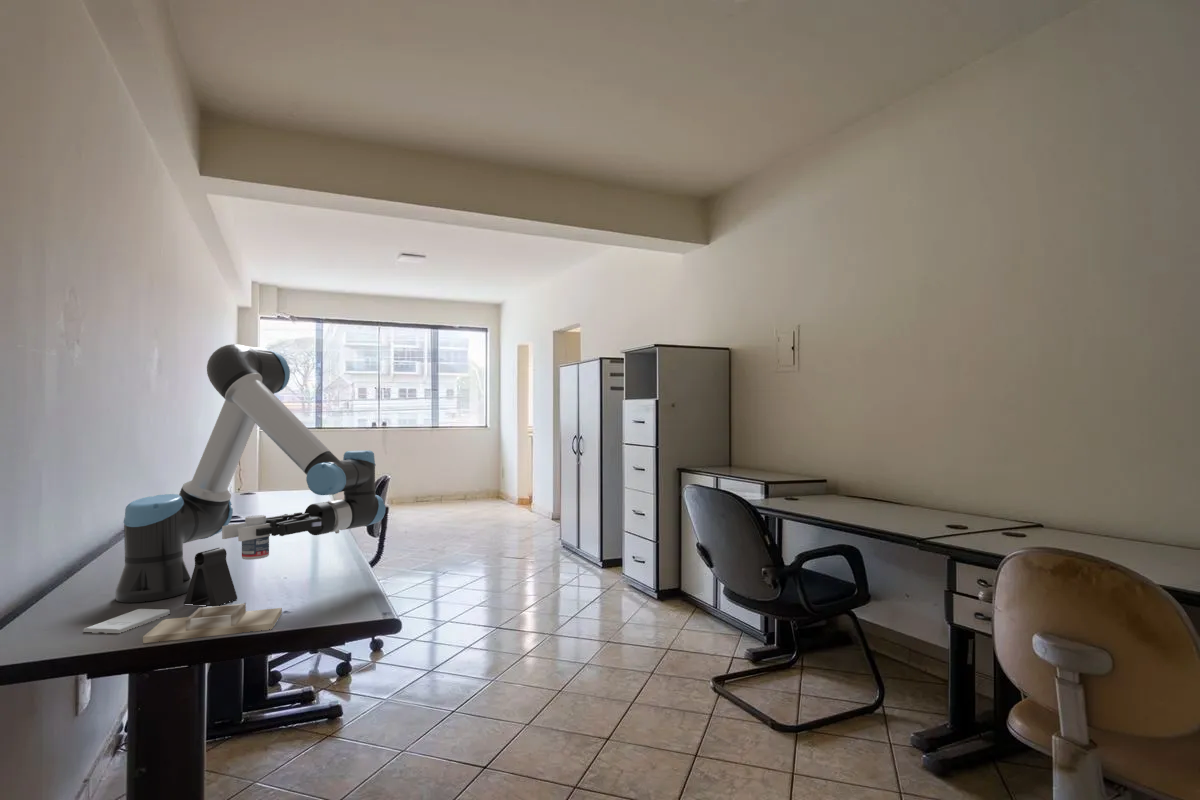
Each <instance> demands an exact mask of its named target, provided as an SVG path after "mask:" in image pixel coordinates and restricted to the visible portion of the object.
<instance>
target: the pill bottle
mask: <svg viewBox="0 0 1200 800" xmlns="http://www.w3.org/2000/svg"><path fill="white" fill-rule="evenodd" d="M266 518H267V516H266V515H264V514H263V515H262V514H261V515H260V514H259V515H249V516H246V517H245V520H244V523H245V524H247V525H246V527H249V526H255V525H261V524H265V522H266ZM269 556H270V536H268V537H262V538H257V539H251V540H246V541H241V559H243V560H248V561H249V560H251V561H252V560H253V561H254V560H259V559H265V558H267V557H269Z"/></svg>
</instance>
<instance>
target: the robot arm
mask: <svg viewBox="0 0 1200 800" xmlns="http://www.w3.org/2000/svg"><path fill="white" fill-rule="evenodd" d="M206 375H207V377H208V380H209V382H210V383H211V385H212V386H213V387H214V389H215V391H217V392H218V394H219V395H220V396H221V397H222V398H223V399H224V403H223V405H222V407H221V409H220V412H219V413H218V414H219V415H218V416H217V419H216V422H215V424H214V426H213V429H212V432H211V433H210V435H209V438H208V439H207V440H208V441H207V444H206V446H205V447H204V448H205V449H204V450H203V453H202V455H201V457H200V459H199V463H198V465H197V468H196V469H195V472H194V474H193V477H192V480H189V481H187V482H184V483H182V484H183V485H182V486H181V488H180V491H179V494H175V493H172V494H171V493H170V494H169V493H166V494H165V493H164V494H158V495H153V496H147V497H142V498H138V499H135V500H133V501H131V502H129V503H128V504H127V506H125V509H124V518H123V527H124V529H123V530H124V535H123V536H124V567H123V570H122V572H121V574H120V578H119V580H118V583H117V585H116V588H115V600H116V602H120V603H128V604H129V603H130V604H131V603H144V602H145V601H146V602H152V601H160V600H165V599H170V598H174V597H178V596H180V595H183V594H187V591H188V588H189V584H190V581H191V578H192V577H191V576H190V574H189V571H188V568H187V566H186V563H185V561H184V544H186V543H190V542H191V543H192V542H194V541H197V540H205V539H208V538H210V537H213V536H215V535H218V534H219V533H221V539H222V540H227V539H232V538H238V539H237V540H238V542H242V541H246V540H251V539H257V538H262V537H268V536H269V537H271V536H272V537H277V536H278V535H279V537H284V536H288V535H294V534H299V533H304V532H305V533H306V532H308V533H309V534H310V535H313V536H319V535H324V534H329V533H335V534H340V531H345V530H351V529H355V528H362V527H368V526H370V525H373V524H378V523H379V522H382V520H383V518H384V516H386V515H385V514H386V509H387V508H386V505H385V503H384V499H383V498H382V497H381V496H380V495H377V494H376V461H375V453H374V451H372V450H370V449H369V450H366V449H365V450H359V449H358V450H348V451H345V452H344V454H343V459H342V460H340V459H339V458H337V457H336V455H335V454H334V453H333V452H332V451H331V450H330V449H328V447H327V446H326V445H325V444H324V443H323V442H322V441H321V440H320V439H319V438H318V437H317V436H316V435H315V434H314V433H313V432H312V431H311V430H310V429H308V427H307V426H306V425H305V424H304V423H303V422H302V421H301V420H300V419H299V418H298V417H297V415H295V414H294V413H293V412H292V411H291V410H290V409H289V408H288V407H287V406H286V405H285V404H284V403H283V402H282V401H281V399H279V398H278V397H277V396H276V395H275V394H277V393H279V392H281V391H283V390H284V389H285V388H286V386H287V385H288V383H289V382H290V378H291V370H290V367H289V363H288V361H287V360H286V358H285V357H284V356H283V355H282V354H281V353H278V351H275V350H272V349H270V348H269V349H268V348H266V347H255V346H248V345H244V344H237V343H236V344H235V343H233V344H232V343H231V344H225V345H223V346H220V347H219V348H217V349H216V350H215V351H214V352H213V353H211V355H210V356H209V358H208V361H207V364H206ZM255 425H256V426H257V427H259V429H261V430H262V431H263V433H265V434H266V436H267V437H269V439H270V440H272V442H273V443H274V444H276V445H277V446H278V448H280V450H281V451H282V452H284V454H285V455H286V456H287V457H288V458H289V459H290V460H291V461H292V462H293V463H294V464H295V465H296V466H297V467H298V468H299V469H300V470H301V471H302V472H303V473H304V474H305V475H306V479H305V481H306V484H307V487H308V489H309V490H310V491H311V492H312V493H313V494H315V495H317V496H332V495H336V494H338V493H342V492H343V496H344V497H343V498H344V499H336V500H328V501H325V502H317V503H311V504H309V505H308V506H307V507H306V509H305V511H304V512H303V511H302V512H294V513H292V514H288V513H285V514H280V515H277V516H269V517H266V522H265V524H261V525H255V526H249V527H246V525H247V524H245V522H240V523H235V524H230V522H231V520H232V518H233V513H234V511H233V510H234V508H232V502H231V499H232V495H231V493H230V491H229V486H230V485H231V483H232V479H233V477H234V474H235V473H236V470H237V467H238V465H239V463H240V460H241V458H242V455H243V453H244V450H245V448H246V446H247V444H248V441H249V439H250V436H251V433H252V431H253V429H254V428H255Z"/></svg>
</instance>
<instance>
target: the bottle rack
mask: <svg viewBox="0 0 1200 800" xmlns="http://www.w3.org/2000/svg"><path fill="white" fill-rule="evenodd" d="M246 604H247V603H235V604H223V605H220V606H212V607H203V606H201V607H198V608H197V609H196V610H195V611H194V612H192V613H191V614H190V615H189V616H187V617H186V616H184V617H174V618H166V619H165V618H164V619H162V620H161V621H160V622H159V623H158V624H156V625H155V626H154V627H153V628H152V629H150V630H149V631H148V632H147V633H146V634H144V635H143V636H142V644H147V643H149V644H150V643H157V642H159V641H160V642H168V641H177V640H186V639H197V638H205V637H214V636H224V635H233V634H241V633H242V632H244V633H251V632H250V631H253V632H261V630H262V631H271V629H272V628H274V627H275V625H276V624H275V623H277V622H278V621H277V620H279V619H280V617H281V616H282V614H283V608H282V607H277V608H267V609H256V610H247V606H246ZM281 613H282V614H281ZM280 615H281V616H280ZM278 618H279V619H278ZM269 629H270V630H269ZM272 630H273V629H272Z"/></svg>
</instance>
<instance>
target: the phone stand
mask: <svg viewBox="0 0 1200 800" xmlns="http://www.w3.org/2000/svg"><path fill="white" fill-rule="evenodd" d="M229 568H230V567H229V565H228V562H227V550H226V549H225V548H224V547H216V548H212V549H209V550H204V551H200V552H198V553H196V554H195V556H194V568H193V571H192V575H191V577H190V578H191V581H190V584H189V588H188V591H187V592H186V595H185V597H184V598H185V599H184V602H183V605H184V604H193V605H206V606H219V605H220V606H222V605H221V604H223V605H225V604H224V603H226V604H228V603H227V602H229V601H231V602H233V601H232V600H234V601H236V600H235V599H237V600H238V595H237V592H236V588H235V585H234V582H233V580H232V579H233V578H232V575H231V572H230V569H229ZM229 603H230V602H229Z"/></svg>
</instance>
